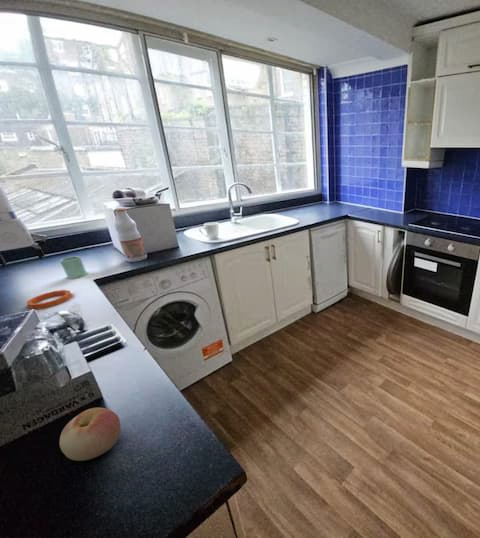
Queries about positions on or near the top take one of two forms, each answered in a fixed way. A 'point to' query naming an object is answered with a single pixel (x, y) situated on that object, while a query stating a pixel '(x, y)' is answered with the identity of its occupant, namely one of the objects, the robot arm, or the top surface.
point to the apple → (90, 434)
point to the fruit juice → (129, 236)
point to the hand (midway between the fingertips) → (23, 261)
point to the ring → (62, 299)
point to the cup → (73, 267)
